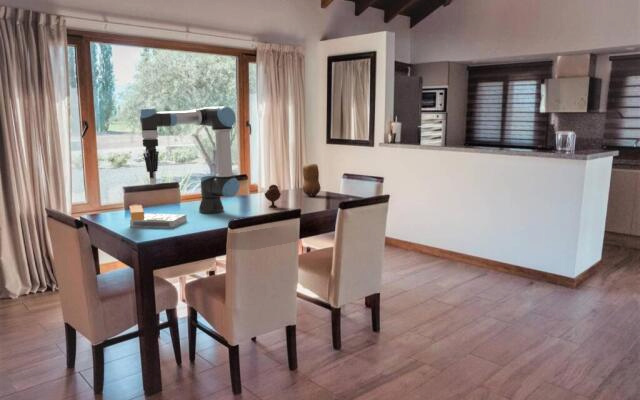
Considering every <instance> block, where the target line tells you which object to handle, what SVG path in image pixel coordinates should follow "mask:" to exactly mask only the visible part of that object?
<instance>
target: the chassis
mask: <svg viewBox="0 0 640 400" xmlns="http://www.w3.org/2000/svg"><path fill="white" fill-rule="evenodd" d="M187 222H188V221H187V214H178V213H149V212H148V213H144V220H133V221H132V220H131V218H130V219H129V225H130V228H150V229H152V228H155V229H174V228H177V227H179V226H181V225H183V224H184V223H187Z"/></svg>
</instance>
